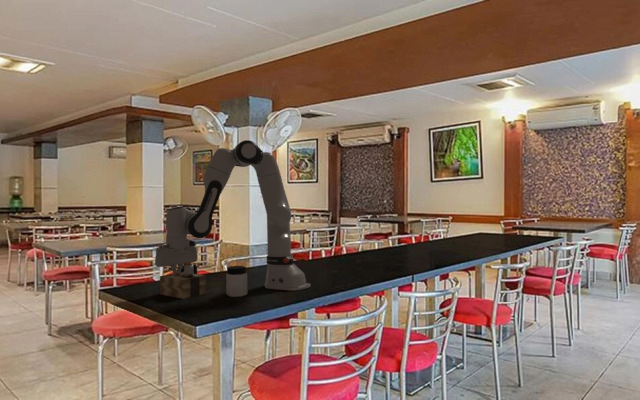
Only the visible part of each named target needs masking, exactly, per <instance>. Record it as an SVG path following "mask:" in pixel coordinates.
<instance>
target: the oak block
mask: <svg viewBox="0 0 640 400" xmlns="http://www.w3.org/2000/svg"><path fill="white" fill-rule="evenodd" d="M181 274H182V275H181V276H172V275H173V273H171V274H170V273H169V274H164V275H160V276H159V294H160V295H162V296H166V297H172V298H177V299H182V300H186V299H189V298H192V297H198V296H202V295H206V294H207V278H206V277H207V276H206V275H205V274H204V275H203V274H198V273H197V274H194V277H191V278H184V272H181Z"/></svg>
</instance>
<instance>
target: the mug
mask: <svg viewBox="0 0 640 400" xmlns="http://www.w3.org/2000/svg"><path fill="white" fill-rule="evenodd" d="M177 269H178V266H177V265H176V270H177ZM181 272H184V264H183V267H182V269H181ZM193 272H194V274H198V265H196V264H193Z"/></svg>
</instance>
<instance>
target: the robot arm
mask: <svg viewBox="0 0 640 400" xmlns="http://www.w3.org/2000/svg"><path fill="white" fill-rule="evenodd" d="M248 166H251V167H252V168H253V169H254V171H255V174H256V178H257V182H258V186H259V190H260V193H261V198H262V201H263V202H262V203H263V205H264V209H265V212H266V229H267V230H266V231H267V236H266V237H267V244H266V245H267V255H266V265H267V267H266V277H265V281H264V285H263V286H264V287H265V289H271V290H280V291H282V290H283V291H292V292H293V291H295V292H296V291H300V290H305V289H308V288H310V287H311V283H307V281H306V275H305V273H304V272H303V270H301V269H300V268H299V267H298V266H297V265H296V264H295V262H294V261H295V260H296V257H293V256H292V250H291V249H292V247H291V246H292V245H291V244H292V243H291V241H292V240H291V225H290V224H291V223H290V222H291V219H292V211H291V208H290V204H289V200H288V198H287V194H286V190H285V187H284V183H283V179H282V176H281V172H280V167H279V163H278V162H277V160H276V157H275V156H274V154H273V153H272V152H268V151H265V152H264V151H263V150H262V149H261V148H260V147H259V145H258V144H257V143H255V142H254V141H252V140H249V139H248V140H247V139H245V140H242V141H240V142H239V143H238V144H236V146H235V147H234V148H233V149H228V148H225V147H221V148H218V149H217V150H215V152H214V153H213V155H212V156H211V158H210V160H209V162H208V164H207V167H206V169H205V172H204V175H203V179H202V180H203V181H202V183H203V186H204V195H203V197H202V200H201V202H200V205H199V207H198V210H197V212H194V211H191V210H190V209H188V208H186V207H185V206H175V207H173V208H172V207H171V208H169V209H168V210H167V212H166V216H165V217H166V218H165V229H166V235H165V244H159V245H158V246H157V247H156V248H155V260H154V265H155V266H156V267H158V268H163V267H170V268H171V270H172V274H173V275H178V274H181V269H182V267H183V265H184V263H185V262H193V263H195V262H197V260H198V251H197V250H198V249H197V247H196V246H197V242H196V241H195V240H192V239H189V238H188V235H191V236H192V237H194V238H196V239H203V238H205V237H208V235H210V234H211V231H212V230H213V215H214V212H215V209H216V207H217V204H218V201H219V199H220V196H221V194H222V192H223V190H224V189H225V188H226V186H227V184H228V181H229V180H230V177H231V175H232V173H233V170H234V168H235V167H241V168H243V167H244V168H245V167H248ZM177 266H178V269H177Z"/></svg>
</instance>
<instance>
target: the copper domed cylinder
mask: <svg viewBox="0 0 640 400" xmlns="http://www.w3.org/2000/svg"><path fill="white" fill-rule="evenodd" d="M194 263H195V262H185V263H184V264H183V265H184V278H191V277H194V272H193V265H195V264H194Z"/></svg>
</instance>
